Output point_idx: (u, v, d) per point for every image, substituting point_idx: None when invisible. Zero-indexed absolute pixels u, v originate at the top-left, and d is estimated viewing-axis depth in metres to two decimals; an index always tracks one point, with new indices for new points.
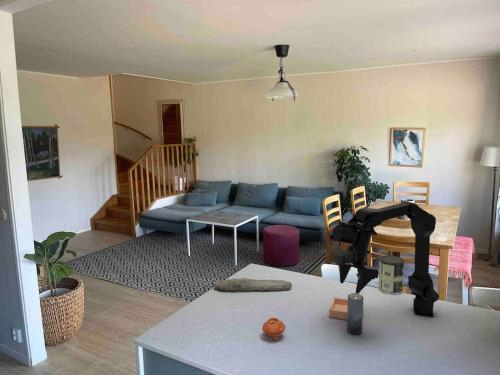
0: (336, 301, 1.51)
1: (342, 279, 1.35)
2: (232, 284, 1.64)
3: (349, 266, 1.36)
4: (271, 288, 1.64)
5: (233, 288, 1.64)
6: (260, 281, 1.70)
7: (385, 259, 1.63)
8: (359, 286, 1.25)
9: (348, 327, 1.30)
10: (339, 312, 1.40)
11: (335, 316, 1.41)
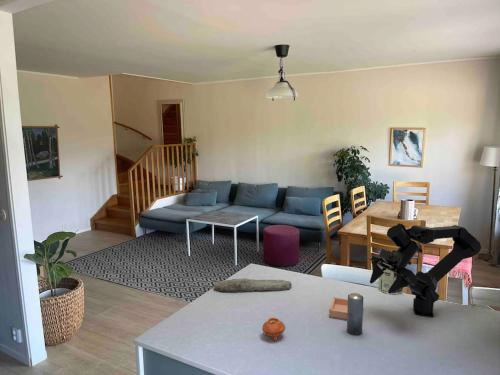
0: (336, 301, 1.51)
1: (372, 280, 1.39)
2: (232, 285, 1.64)
3: (382, 272, 1.41)
4: (271, 288, 1.65)
5: (233, 289, 1.64)
6: (260, 281, 1.70)
7: None
8: (394, 286, 1.30)
9: (348, 327, 1.30)
10: (339, 312, 1.40)
11: (335, 316, 1.41)
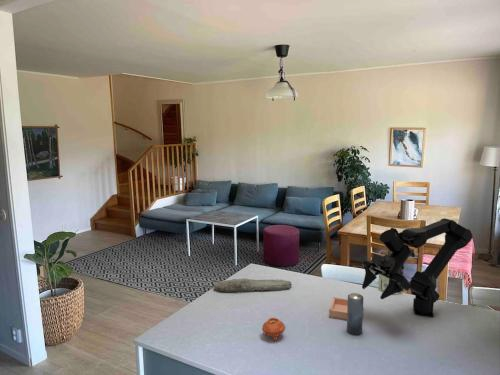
0: (336, 301, 1.51)
1: (365, 285, 1.37)
2: (233, 285, 1.63)
3: (374, 277, 1.39)
4: (271, 288, 1.65)
5: (234, 289, 1.63)
6: (260, 281, 1.70)
7: None
8: (387, 292, 1.28)
9: (348, 327, 1.30)
10: (339, 312, 1.40)
11: (335, 316, 1.41)
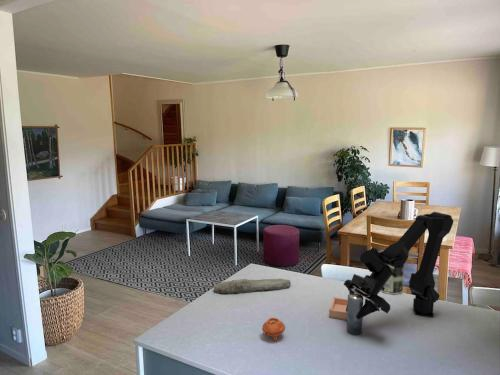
0: (336, 301, 1.51)
1: None
2: (234, 286, 1.62)
3: None
4: (272, 287, 1.65)
5: (235, 290, 1.62)
6: (259, 281, 1.70)
7: None
8: (362, 312, 1.27)
9: (348, 327, 1.30)
10: (339, 312, 1.40)
11: (335, 316, 1.41)
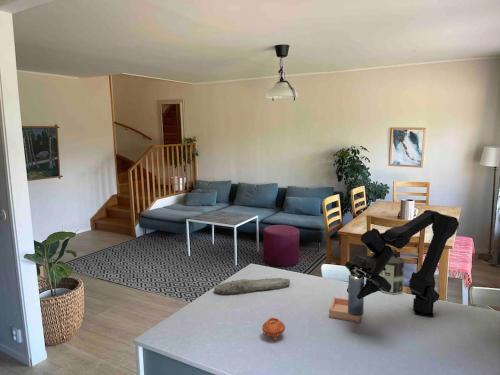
0: (336, 301, 1.51)
1: None
2: (235, 286, 1.62)
3: None
4: (272, 286, 1.66)
5: (236, 290, 1.62)
6: (259, 281, 1.70)
7: None
8: (363, 292, 1.26)
9: (349, 308, 1.30)
10: (339, 312, 1.40)
11: (335, 316, 1.41)
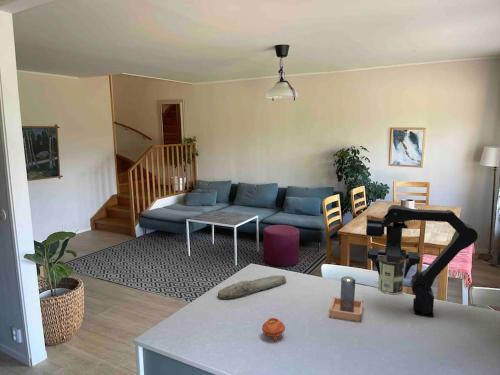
0: (336, 301, 1.51)
1: None
2: (241, 289, 1.59)
3: None
4: (273, 285, 1.68)
5: (242, 293, 1.59)
6: (258, 281, 1.70)
7: (385, 259, 1.63)
8: (407, 272, 1.44)
9: (340, 305, 1.45)
10: (339, 312, 1.40)
11: (335, 316, 1.41)
